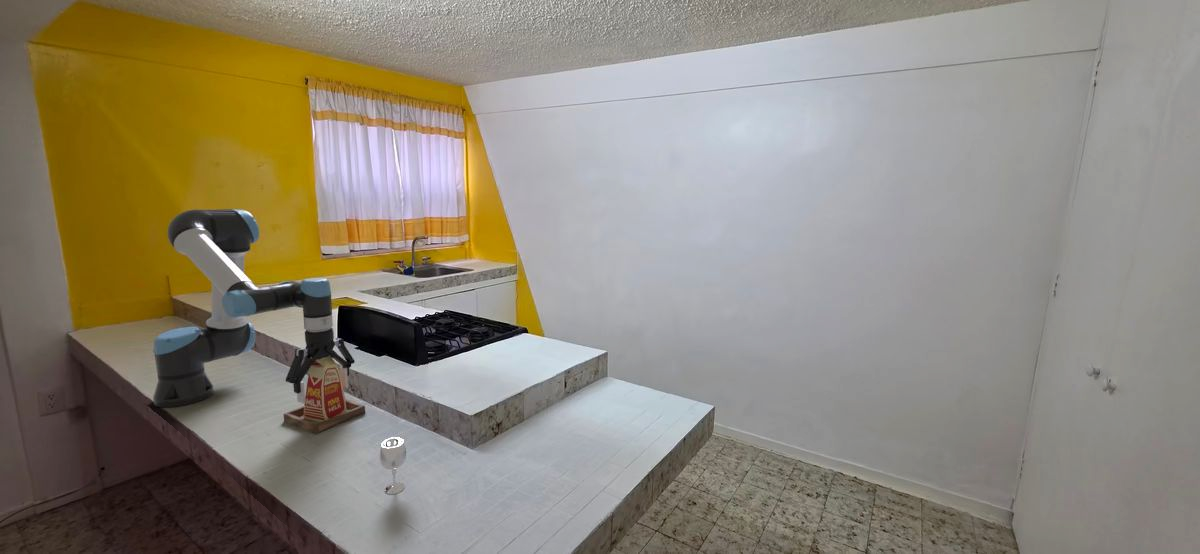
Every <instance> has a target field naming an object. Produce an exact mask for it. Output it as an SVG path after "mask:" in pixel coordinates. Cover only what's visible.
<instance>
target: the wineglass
mask: <svg viewBox="0 0 1200 554" xmlns="http://www.w3.org/2000/svg"><path fill="white" fill-rule="evenodd" d="M379 451H380V452H379V461H380V464H381V466H382V467H383V468H384V469H387V470H391V474H392V481H393V482H392V483H389V485H387V486H386V487H385V488H384V493H386V494H388V495H395V494H399V493H401V492H402V491H403V490H404V489H405V487H406V486H405V484H404V482H403V483H402V482H401V481H399V482H396V475H397V474H396V473H397V469H398V468H400V467H401V466H403V464H405V462H406V459H407V451H406V445H405V443H404V439H402V438H400V437H390V438H388V439H385V440H384V441H383V442H382V443H381V446H380V450H379Z"/></svg>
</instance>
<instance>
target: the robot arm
mask: <svg viewBox="0 0 1200 554" xmlns="http://www.w3.org/2000/svg"><path fill="white" fill-rule="evenodd" d="M259 239H260V229H259V224H258V222H257V220H256V219H255V217H254V216H253V215H252V214H251V212H249V211H247V210H245V209H233V208H224V209H223V208H221V209H220V208H218V209H214V208H213V209H198V208H197V209H196V208H195V209H188V210H185V211H183V212H180V213H179V214H177V215H175V217H173V219H172V220H171V221H170V222H169V225H168V227H167V240H168V241H169V244H170V245H171V246H172V247H173V248H174V250H175V251H176V252H177V253H180V254H181V255H183V256H184V255H185V256H186V257H187V258H188V259H189V260H190V261H191V262H192V263H193V264H194V266H196V268H198V270H200V272H202V274H204V276H205V277H206V278H207V279H208V280H209V281H210V282H211V316H210V317H209V318H208V319H207V320H206V321H205V328H202V329H200V328H199V327H198V326H186V327H179V328H174V329H171V330H167V331H165V332H163V333H160V334H159V335H157V336H156V337H155V338H154V340H153V350H152V351H153V354H154V359H155V365H156V366H155V367H156V374H157V383H156V386H155V390H154V392H153V393H154V394H153V396H152V397H153V398H152V400H153V405H154V406H155V407H158V408H174V407H175V408H177V407H182V406H183V407H184V406H187V405H191V404H194V403H197V402H198V403H199V402H202V401H203V400H206V399H208V398H210V397H211V396H212V395H214V393H215V389H214V385H213V383H212V382H211V380H210V379H209V377H208V375H207V373H206V370H205V363H210V362H214V361H218V360H222V359H225V358H230V357H236V356H238V355H240V354H245V353H247V352H249V351H250V350H251V349H252V348H253V347H254V344H255V341H256V331H255V328H254V325H252V323H251V322H249V320H248V318H246V317H250V316H253V315H258V314H264V313H268V312H273V311H278V310H283V309H284V310H285V309H290V308H302V314H303V329H304V330H305V331H304V339H305V340H304V342H305V345H306V346H305V348H295V350H294V358H293V360H292V362H291V365H290V368H289V370H288V373H287V375H286V378H285V380H284V381H285V382H287V383H289V384H292V386H293V393H295V394H296V399H297V400H296V401H297V403H299V404H300V403H301V404H304V403H306V401H305V395H306V388H305V382H304V381H303V379H304V378H305V376H306V375H307V373H308V372H309V370H310V367H311V365H312V364H313V363H314V362H315V361H316V359H318V360H319V359H322V358H326V357H328V356H331V357H332V359H333V360H334V361H335V362H337V363H338V364H340V365H341V366H338V369H339V372H340V376H341V380H342V384H343V388H345V389H346V388H348V387H349V380H348V379H349V376H350V368H351V367H352V364H355V359H354V357H353V355H351V353H350V351H349V350H348V348H347V347H346V346H345V340H344V339H342V338H339V337H337V338H335V336H334V335H335V334H334V328H333V326H334V323H333V322H334V321H333V307H332V306H333V305H332V289H331V282H330V280H329V279H328V278H325V277H312V278H311V277H310V278H305V279H303V280H301V281H300V282H299V281H295V280H291V281H289V280H286V281H285V280H284V281H281V282H279V283H278V284H273V285H266V286H258V285H256V284H255V283H254V282H253V281H252V280H251V279H250V278H249V277H248V276H247V275H246V274H245V256H246V255H245V254H247V253H248V252H250V251H251V244H254V243H256V242H258V240H259ZM334 338H335V340H334ZM335 347H337V349H338V351H339V353H340V354H341V355H342V356H340V355H339V354H338V353H337V352H336V351H335V350H334V348H335Z"/></svg>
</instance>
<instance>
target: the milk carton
mask: <svg viewBox="0 0 1200 554" xmlns="http://www.w3.org/2000/svg"><path fill="white" fill-rule="evenodd" d="M345 399H346V397H345V391H344V387H343V384H342V380H341V376H340V368H339V365H338V364H337V363H336V360H334V359H333V358H332V357H331V356H328V357H326V358H322V359H319V360H318V359H316V361H315V362H314V363H313V364H312V365H311V367H310V368H309V370H308V375H307V381H306V387H305V401H306V403H303V404H304V405H303V406H304V418H303V419H308V420H312V421H317V422H323V421H326V420H328V419H330V418H333V417H335V416H338V415H340V414H342V413H345V412H347V409H346V400H345Z"/></svg>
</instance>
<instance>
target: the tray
mask: <svg viewBox="0 0 1200 554" xmlns="http://www.w3.org/2000/svg"><path fill="white" fill-rule="evenodd" d="M345 400H346V409H347V412H345V413H342V414H340V415H338V416H335V417H333V418H330V419H328V420H326V421H323V422H317V421H312V420H308V419H303V418H304V405H303V406H301V407H298V408H295V409H293V410H289V411H287V412H285V413H283V415H282V416H283V422H284V423H287V424H290V425H291V426H294V427H297V428H299V429H302V430H304V431H307V432H309V433H312V434H314V435H318V434H321V433H322V432H325V431H327V430H329V429H332V428H333V427H336V426H338V425H341V424H343V423H345V422H348V421H350V420H352V419H354V418H356V417H357V418H358V417H359V416H361V415H363V414H365V413H366V405H364V404H361V403H358V402H356V401H352V400H350V399H346V398H345Z"/></svg>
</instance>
